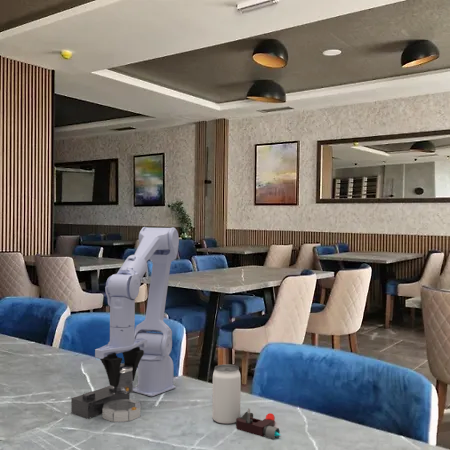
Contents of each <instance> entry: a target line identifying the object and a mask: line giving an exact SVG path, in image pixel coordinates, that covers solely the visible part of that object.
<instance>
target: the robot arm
mask: <svg viewBox="0 0 450 450" xmlns="http://www.w3.org/2000/svg"><path fill="white" fill-rule="evenodd" d="M138 233H139V234H138V246H137V248H136V250H135V252H134V254H131V255H129V256H127V258H126V259H125V261H124V262H123V263H122V265H121V266H120V268H119V269H118V271H117V273H114V274H112V275H110V276H109V277H108V278H107V280H106V282H105V287H104V288H105V289H104V290H105V294H106V299H107V304H108V306H109V341H108V342H107V344H105V345H103V346H101V347H99V348H96V349H94V350H95V351H94V358H96V359H99V360H100V361H101V363H102V365H103V367H104V370H105V372H106V375H107V379H108V382H109V386H110V385H111V386H114V387H116V386H118V382H119V369H120V365H121V364H122V362H124V363H127V364H132V366H133V370H132V374H133V382H134V381H135V377H136V373H137V386H135V387H133V392H134V393H138V394H142V395H144V396H149V397H154V396H157V395H160V394H163V393H165V392H168V391H171V390H174V389H176V385H174V361H173V359H172V358H171V356H170V355H171V352H172V349H173V348H172V347H173V331H172V328H170V326H169V325H168V324H166V322H165V321H164V320H165V319H164V316H165V309H166V302H167V301H166V300H167V295H168V286H169V279H170V271H171V265H172V262H174V261H175V260H177V257H178V256H177V255H178V253H179V252H178V251H179V244H180V243H179V242H180V238H179V232H178V230H177V229H176V227H147V226H143V227H142V228H141V230H140V231H139V232H138ZM149 260H150V261H151V262H152V269H151V275H150V282H149V289H148V290H149V291H148V297H147V303H146V312H145V319H144V320H142V321H141V322H140V323H138V324H137V325H136V323H135V322H136V319H135V318H136V316H135V315H136V314H135V313H136V312H135V310H136V309H135V308H136V302H135V301H136V299H137V297H138V295H139V293H140V287H141V285H142V283H141V281H142V278H143V277H144V276H145V273H146V272H147V271H148V263H147V262H148V261H149ZM118 354H122V357H119V356H118ZM123 360H124V361H123Z"/></svg>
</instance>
